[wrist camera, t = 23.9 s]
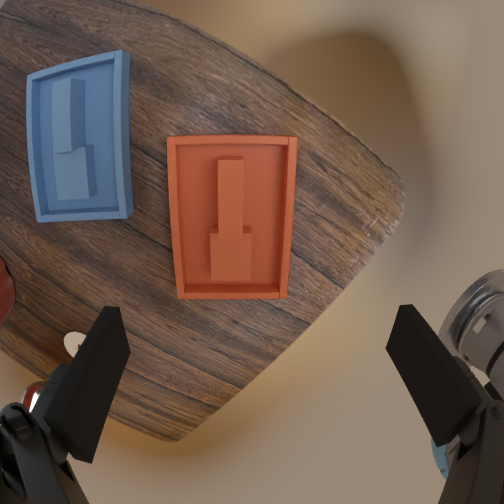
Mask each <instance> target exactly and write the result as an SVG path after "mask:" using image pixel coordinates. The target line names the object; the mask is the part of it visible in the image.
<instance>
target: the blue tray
mask: <svg viewBox="0 0 504 504" xmlns="http://www.w3.org/2000/svg"><path fill="white" fill-rule="evenodd" d="M129 73H130V54H129V53H127V52H125V51H124V50H118V51H113V52H108V53H103V54H98V55H94V56H90V57H86V58H82V59H78V60H74V61H70V62H67V63H63V64H60V65H57V66H53V67H50V68H47V69H44V70H41V71H38V72H35V73H33V74H30V75H28V76H27V97H26V121H27V145H28V159H29V170H30V179H31V187H32V194H33V201H34V207H35V213H36V219H37V223H42V222H60V221H80V220H103V219H127V218H128V217H129V216H130V215H131V214H132V213H133V212H134V204H133V192H132V179H131V163H130V141H129ZM67 78H75V79H80V80H85V135H86V146H87V145H93V146H94V163H95V175H96V186H97V194H96V195H94V196H93V197H91V198H89V199H76V200H64V201H58V195H57V187H56V178H55V169H54V157H53V152H54V147H53V124H52V91H53V82H56V81H60V80H63V79H67Z"/></svg>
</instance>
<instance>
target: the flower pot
mask: <svg viewBox="0 0 504 504" xmlns="http://www.w3.org/2000/svg"><path fill="white" fill-rule="evenodd" d="M14 303H15V287H14V282H13V279H12V276H11V275H9V274H8V272H7V270H6V267H5V262H4V261H3V259H2V258H1V256H0V326H1V324H2V323H3V321H4V320H5V318H6V317H7V315H8V314H9V312H10V311H11V310H12V308H13V306H14Z"/></svg>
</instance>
